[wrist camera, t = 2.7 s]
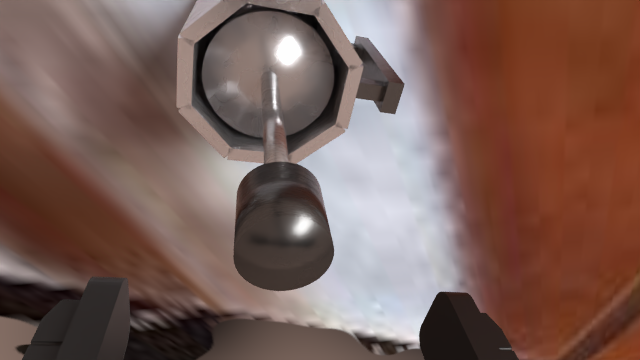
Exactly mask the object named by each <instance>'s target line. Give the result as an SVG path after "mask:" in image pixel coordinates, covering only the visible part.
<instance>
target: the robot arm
mask: <svg viewBox="0 0 640 360" xmlns="http://www.w3.org/2000/svg"><path fill="white" fill-rule="evenodd" d="M129 330H130V308H129V291H128V280H127V278H114V277H92V278H91V279H90V280H89V282H88V284H87V286H86V289H85V291H84V293H83V296H82V298H81V300H61V301H60V302H59V303H58V304H57V305H56V306H55V307H54V308H53V309H52V310H51V311H50V312H49V313H48V314H47V315H46V316H45V317H44V318H43V319H42V320H41V322H40V324H39V326H38V328H37V330H36V333H35V335H34V337H33V339H32V341H31V345H30V346H29V347H28V349H27V351H26V353H25V355H24V357H23V359H22V360H123V357H124V353H125V350H126V346H127V342H128V337H129ZM419 340H420V347H421V350H422V353H423V356H424V359H425V360H519V359H518V358H517V356H516V354H515V352H514V351H512V350H511V348H512V347H511V345H510V343H509V342H508V340H507V338H506V336H505V335H504V333H503V331H502V329H501V328H500V327H499V326H498V325H497V324H496V323H495V322H494V321H493V320H492V319H491V318H490V317H489V316H488V315H487V314H486V313H480V311H479V309H478V308H477V306H476V304H475V302H474V300H473V299H472V297H471V296H470V295H469V294H468V293H460V292H439V293H438V294H437V295H436V297H435V299H434V301H433V303H432V305H431V307H430V309H429V311H428V313H427V315H426V317H425V319H424V321H423V323H422V325H421V328H420V334H419Z"/></svg>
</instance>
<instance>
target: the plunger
mask: <svg viewBox="0 0 640 360" xmlns="http://www.w3.org/2000/svg"><path fill="white" fill-rule="evenodd" d="M202 80H203V86H204V90H205V93H206V96H207V98H208V101H209V103H210V104H211V106H212V108H213V109H214V111H215V112H216V113H217V114H218V116H219V117H220V118H221V119H223V120H224V121H225V122H226V123H227V124H229V125H230V126H231V127H233V128H235V129H236V130H238V131H240V132H243V133H245V134H248V135H251V136H256V137H261V138H263V148H264V164H263V165H261V166H258V167H257V168H255V169H253V170H252V171H250V172H249V173H248V174H247V175H246V176H245V177H244V178H243V180H242V181H241V183H240V185H239V188H238V191H237V202H236V220H235V239H234V264H235V267H236V269H237V271H238V272H239V274H240V275H241V276H242V277H243V278H244V279H245V280H246V281H248V282H249V283H251V284H253V285H255V286H257V287H259V288H263V289H267V290H274V291H286V290H293V289H297V288H301V287H304V286H306V285H309V284H311V283H312V282H314V281H316V280H317V279H318V278H320V277H321V276H322V275H323V274H324V273H325V272H326V271H327V269H328V268H329V266H330V265H331V263H332V260H333V256H334V246H333V241H332V237H331V233H330V228H329V224H328V219H327V215H326V211H325V206H324V202H323V197H322V193H321V188H320V185H319V183H318V181H317V179H316V178H315V176H314V175H313V174H312V173H311V172H310V171H309V170H307V169H306V168H304V167H302V166H300V165H298V164H295V163H291V162H289V158H288V151H287V143H286V136H287V135H290V134H293V133H296V132H298V131H300V130H302V129H304V128H305V127H307V126H308V125H310V124H311V123H312V122H313V121H314V120H315V119H316V118H317V117H318V116H319V115H320V114H321V113H322V111H323V110H324V108H325V107H326V105H327V103H328V101H329V99H330V96H331V93H332V89H333V83H334V69H333V63H332V59H331V56H330V53H329V51H328V48H327V46H326V44H325V43H324V41H323V39H322V37H321V36H320V35H319V33H318V32H317V31H316V30H315V29H314V28H313V27H312V26H311V25H310V24H309V23H308V22H306V21H305V20H304V19H302V18H300V17H298V16H297V15H295V14H292V13H290V12H287V11H283V10H279V9H272V8H260V9H254V10H249V11H246V12H243V13H241V14H238V15H236V16H234V17H233V18H231V19H230V20H228V21H227V22H226V23H225V24H223V25H222V26H221V27H220V28H219V29H218V31H217V32H216V33H215V34H214V36H213V38H212V39H211V41H210V43H209V45H208V47H207V50H206V53H205V57H204V61H203V68H202Z"/></svg>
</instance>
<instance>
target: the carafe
mask: <svg viewBox="0 0 640 360" xmlns="http://www.w3.org/2000/svg"><path fill="white" fill-rule="evenodd" d="M260 8H272V9H279V10H283V11H287V12H290V13H292V14H295V15H297V16H298V17H300V18H302V19H304V20H305V21H306V22H308V23H309V24H310V25H311V26H312V27H313V28H314V29H315V30H316V31H317V32H318V33H319V35H320V36H321V37H322V39H323V41H324V43H325V44H326V46H327V48H328V51H329V53H330V56H331V59H332V63H333V69H334V83H333V89H332V93H331V96H330V99H329V101H328V103H327V105H326V107H325V108H324V110H323V111H322V113H321V114H320V115H319V116H318V117H317V118H316V119H315V120H314V121H313V122H312V123H311V124H310V125H308V126H307V127H305V128H304V129H302V130H300V131H298V132H296V133H293V134H290V135H287V136H286V143H287V151H288V158H289V162H291V163H295V164H296V163H298V162H299V161H301V160H302V159H304V158H306V157H307V156H309V155H310V154H312V153H313V152H315V151H316V150H318V149H319V148H321V147H322V146H324V145H326V144H327V143H329V142H330V141H332V140H333V139H335V138H336V137H338V136H339V135H341V134H343V133H344V132H345V129H348V125H349V121H350V117H351V113H352V110H353V106H354V102H355V98H359V99H366V100H373V101H374V102H375V104H376V106H377V107H378V109H379V111H380V112H384V113H391V114H395V113H396V109H397V106H398V103H399V100H400V97H401V94H402V91H403V87H404V83H403V82H402V80H401V79H400V78H399V77H398V75H397V74H396V73H395V72H394V70H393V69H392V68H391V66H390V65H389V64H388V63H387V61H386V60H385V59H384V58H383V56H382V55H381V54H380V53H379V51H378V50H377V49H376V47H375V46H374V45H373V44H372V42H371V41H370V40H369V39H368V38H364V37H359V36H356V39H355V43H354V44H352V43H350V42H349V40H348V38H347V37H346V35H345V34H344V32H343V30H342V29H341V27H340V26H339V24H338V22H337V21H336V19H335V17H334V16H333V14H332V13H331V11H330V9H329V8H328V6H327V5H326V3H325V2H324V0H197V2H196V3H195V5H194V7H193V9H192V11H191V13H190V15H189V17H188V19H187V20H186V22H185V24H184V26H183V28H182V30H181V32H180V34H179V36H178V47H177V99H176V108H179V109H178V112H179V113H180V114H181V115H182V116H183V117H184V118H185V119H186V120H187V121H188V122H189V123H190V124H191V125H192V126H193V127H194V128H195V129H196V130H197V131H198V132H199V133H200V134H201V135H202V136H203V137H204V138H205V139H206V140H207V141H208V142H209V143H210V144H211V145H212V146H213V147H214V148H215V149H216V150H217V151H218V152H219V153H220V154H221V155H222V156H223V157H224V158H225V157H226V156H228V159H227V160H237V161H246V162H256V163H264V148H263V138H261V137H256V136H251V135H248V134H245V133H243V132H240V131H238V130H236V129H235V128H233V127H231V126H230V125H229V124H227V123H226V122H225V121H224V120H223V119H221V118H220V117H219V116H218V114H217V113H216V112H215V111H214V109H213V108H212V106H211V104H210V103H209V101H208V98H207V96H206V93H205V90H204V86H203V80H202V68H203V61H204V57H205V53H206V50H207V47H208V45H209V43H210V41H211V39H212V38H213V36H214V34H215V33H216V32H217V31H218V29H219V28H220V27H221V26H222V25H223V24H225V23H226V22H227V21H228V20H230V19H231V18H233V17H234V16H236V15H238V14H241V13H243V12H246V11H249V10H254V9H260ZM344 128H345V129H344Z"/></svg>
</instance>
